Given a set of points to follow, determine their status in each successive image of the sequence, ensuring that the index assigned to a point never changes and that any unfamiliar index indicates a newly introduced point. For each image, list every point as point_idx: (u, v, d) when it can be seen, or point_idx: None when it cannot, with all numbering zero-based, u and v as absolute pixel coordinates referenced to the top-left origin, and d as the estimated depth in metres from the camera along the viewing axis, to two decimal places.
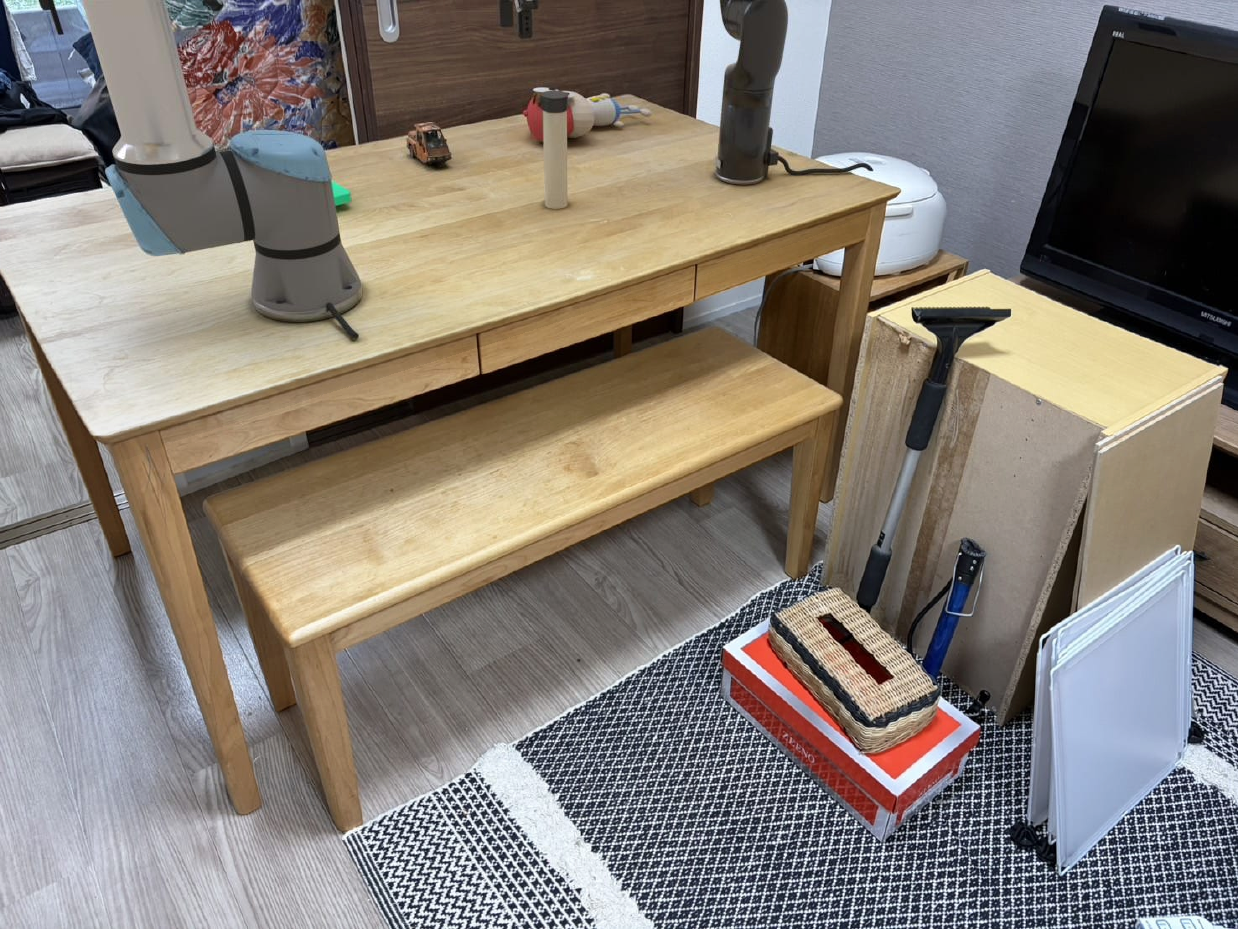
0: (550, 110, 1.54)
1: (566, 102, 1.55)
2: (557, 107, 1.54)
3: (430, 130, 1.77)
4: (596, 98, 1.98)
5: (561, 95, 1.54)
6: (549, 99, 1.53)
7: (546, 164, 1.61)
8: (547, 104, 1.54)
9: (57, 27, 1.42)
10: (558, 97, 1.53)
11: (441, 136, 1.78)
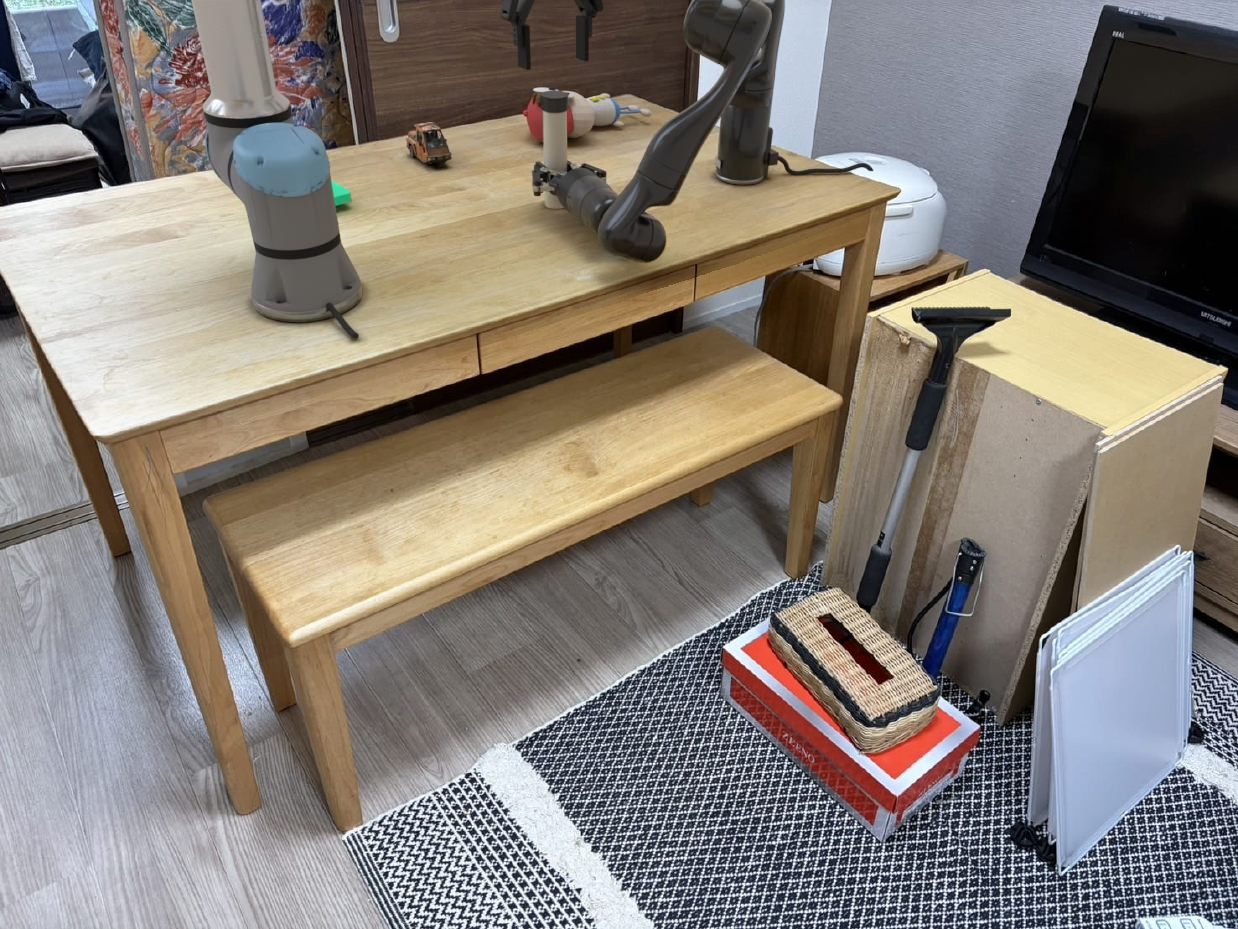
0: (550, 110, 1.54)
1: (566, 102, 1.55)
2: (557, 106, 1.54)
3: (430, 130, 1.77)
4: (596, 98, 1.98)
5: (561, 95, 1.54)
6: (549, 99, 1.53)
7: (546, 164, 1.61)
8: (547, 104, 1.54)
9: (527, 63, 1.48)
10: (558, 97, 1.53)
11: (441, 136, 1.78)
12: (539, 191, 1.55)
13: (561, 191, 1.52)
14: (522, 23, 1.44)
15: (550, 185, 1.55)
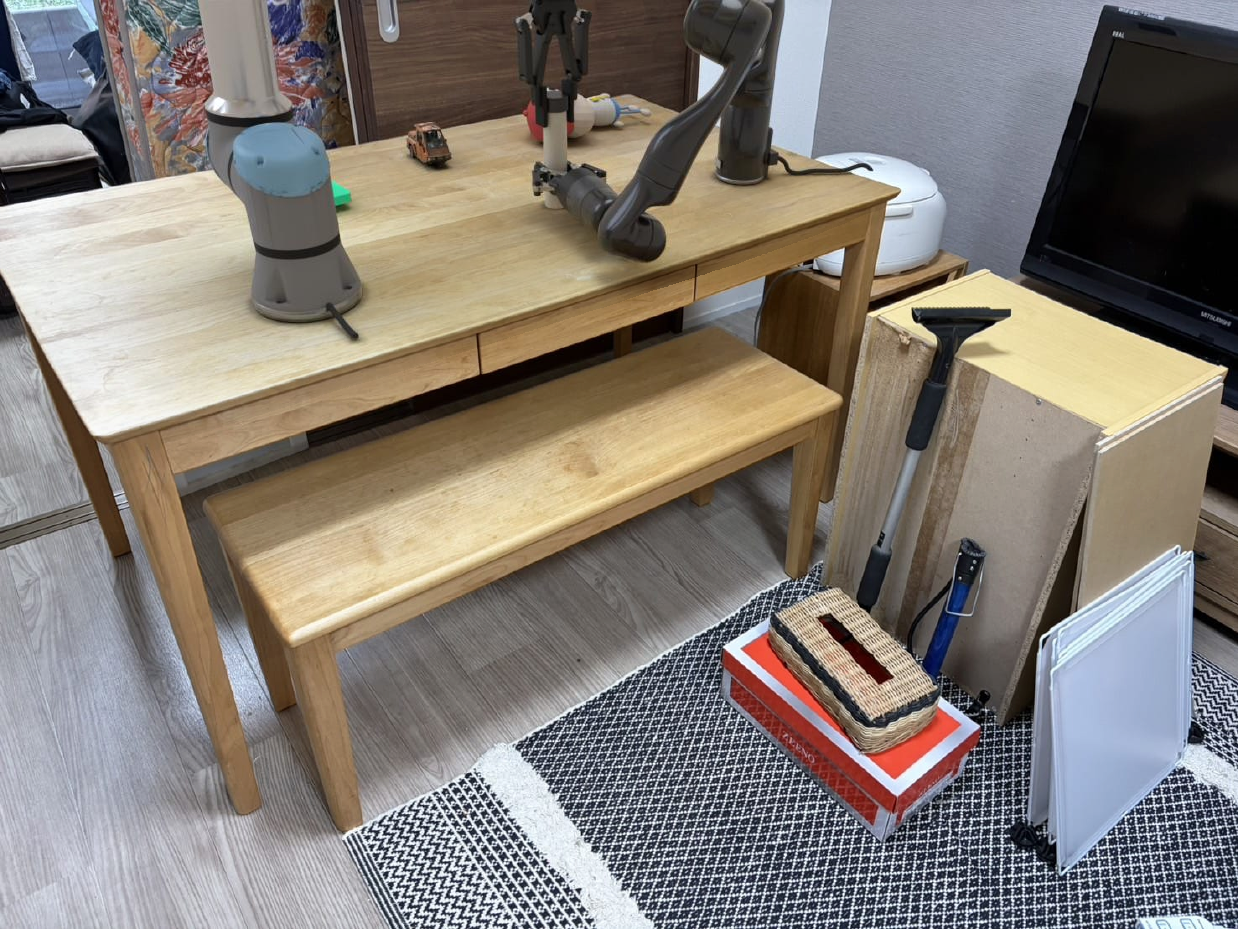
0: (550, 110, 1.54)
1: (566, 102, 1.55)
2: (557, 107, 1.54)
3: (430, 130, 1.77)
4: (596, 98, 1.98)
5: (561, 95, 1.54)
6: (549, 99, 1.53)
7: (546, 165, 1.61)
8: (547, 104, 1.54)
9: (544, 121, 1.55)
10: (558, 97, 1.53)
11: (441, 136, 1.78)
12: (539, 191, 1.55)
13: (561, 191, 1.52)
14: (540, 84, 1.51)
15: (550, 185, 1.55)
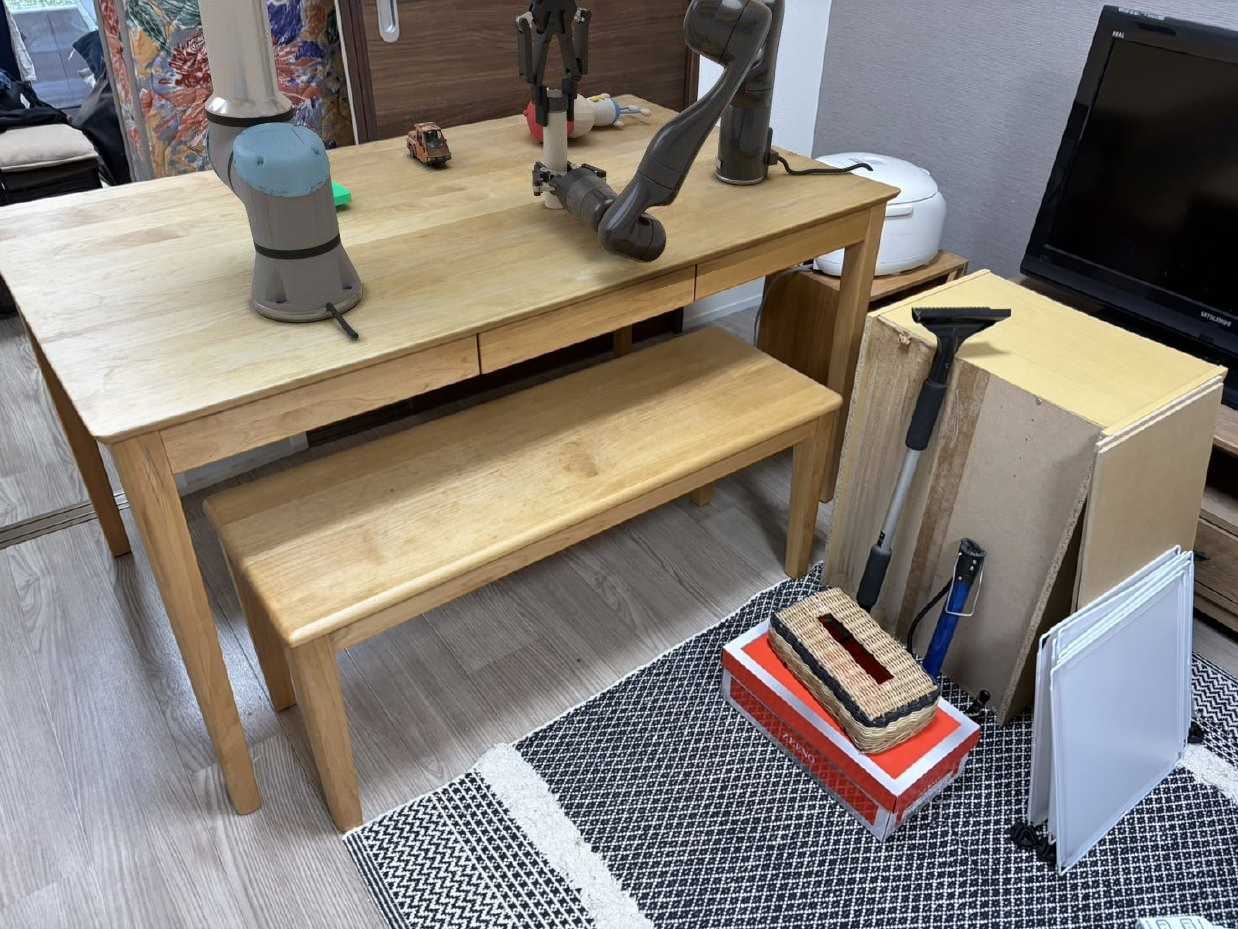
0: None
1: None
2: None
3: (430, 130, 1.77)
4: (596, 98, 1.98)
5: (557, 91, 1.56)
6: (567, 96, 1.55)
7: (546, 165, 1.61)
8: (567, 101, 1.55)
9: (544, 120, 1.55)
10: (564, 92, 1.56)
11: (441, 136, 1.78)
12: (539, 191, 1.55)
13: (561, 191, 1.52)
14: (540, 83, 1.51)
15: (550, 185, 1.55)
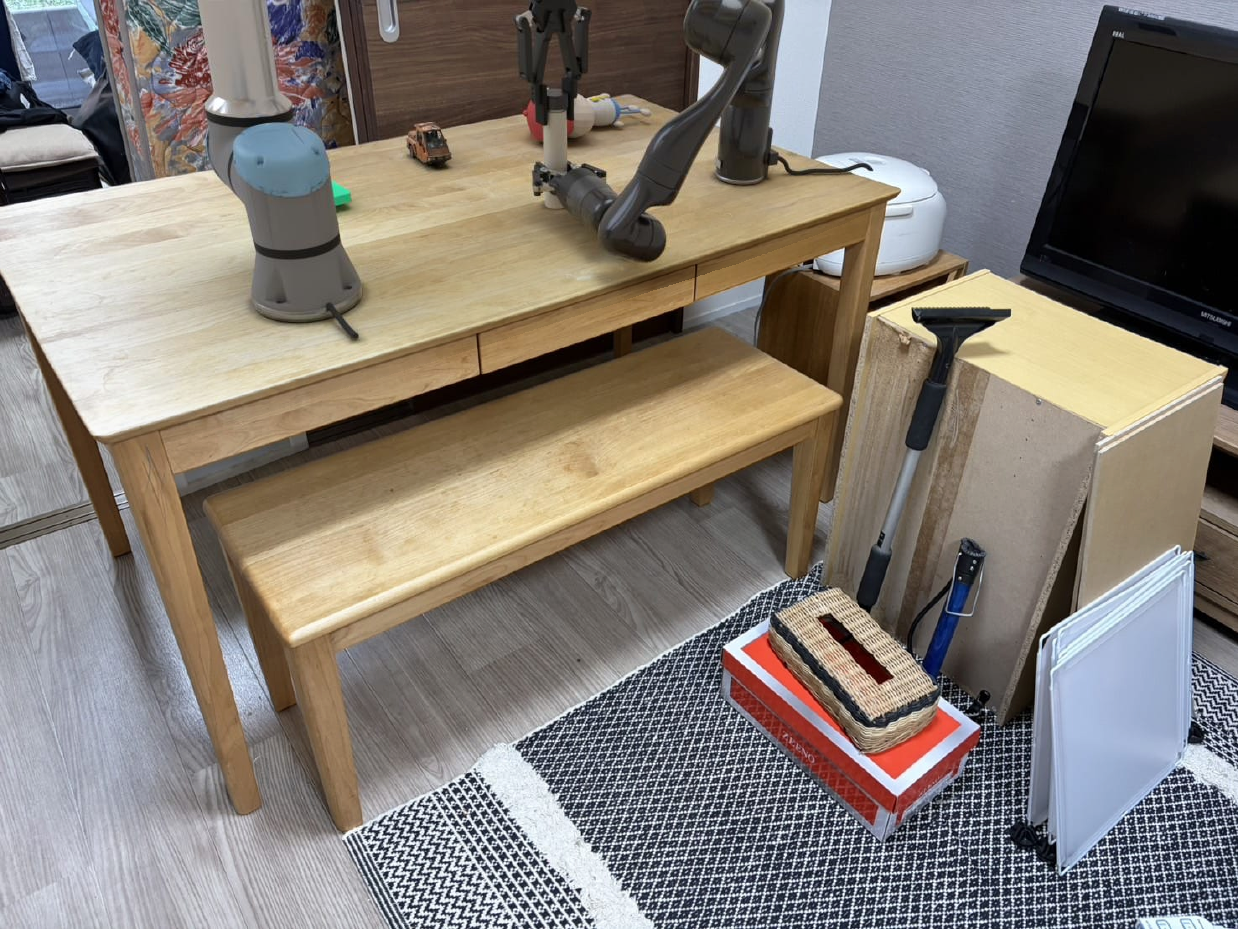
0: None
1: None
2: None
3: (430, 130, 1.77)
4: (596, 98, 1.98)
5: None
6: None
7: (546, 165, 1.61)
8: None
9: (544, 119, 1.55)
10: (548, 89, 1.56)
11: (441, 136, 1.78)
12: (539, 191, 1.55)
13: (561, 191, 1.52)
14: (540, 82, 1.51)
15: (550, 185, 1.55)
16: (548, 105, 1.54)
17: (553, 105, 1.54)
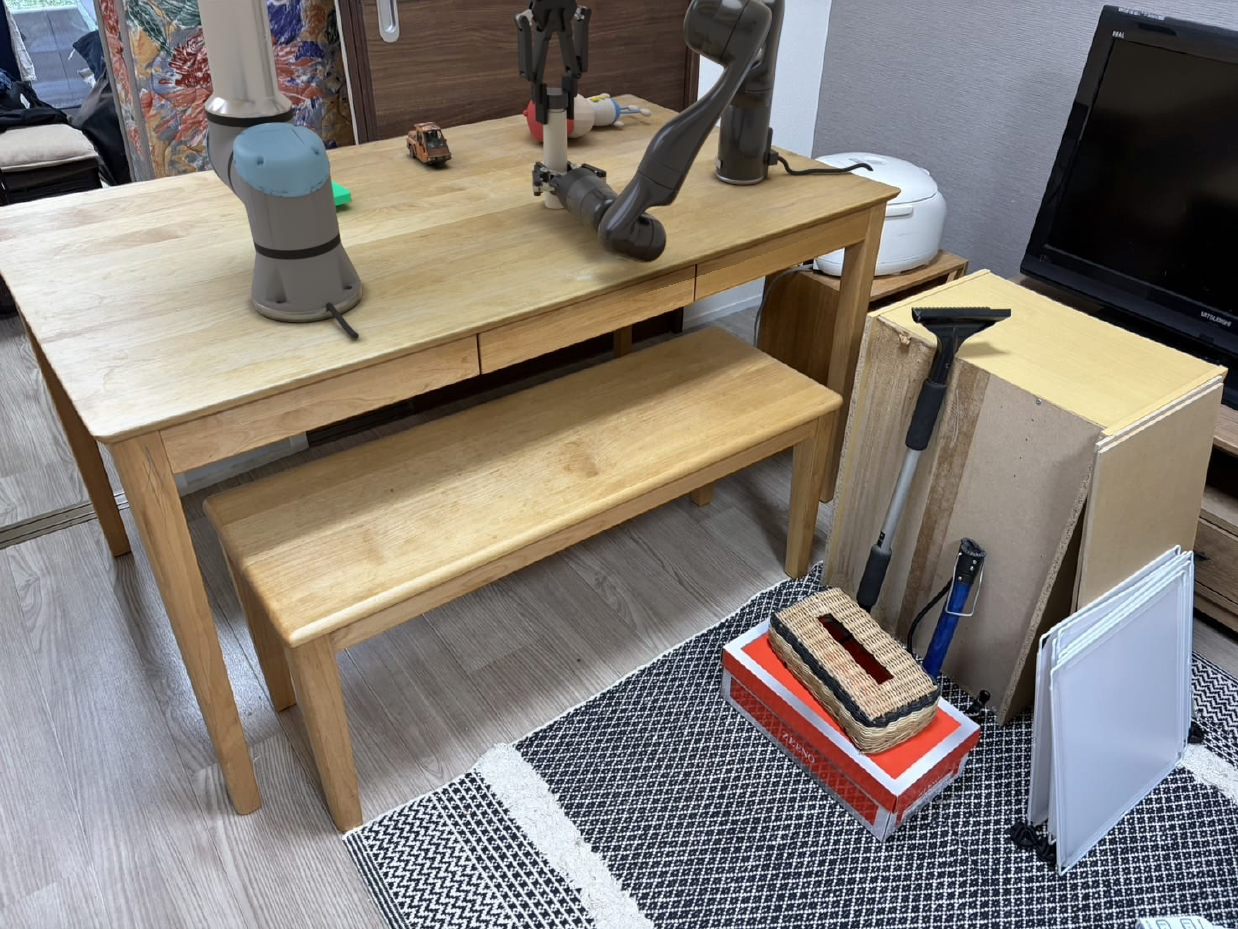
0: None
1: (550, 101, 1.53)
2: None
3: (430, 130, 1.77)
4: (596, 98, 1.98)
5: (552, 93, 1.53)
6: None
7: (546, 164, 1.61)
8: None
9: (544, 118, 1.55)
10: None
11: (441, 136, 1.78)
12: (539, 191, 1.55)
13: (561, 191, 1.52)
14: (540, 81, 1.51)
15: (550, 185, 1.55)
16: (566, 103, 1.55)
17: None
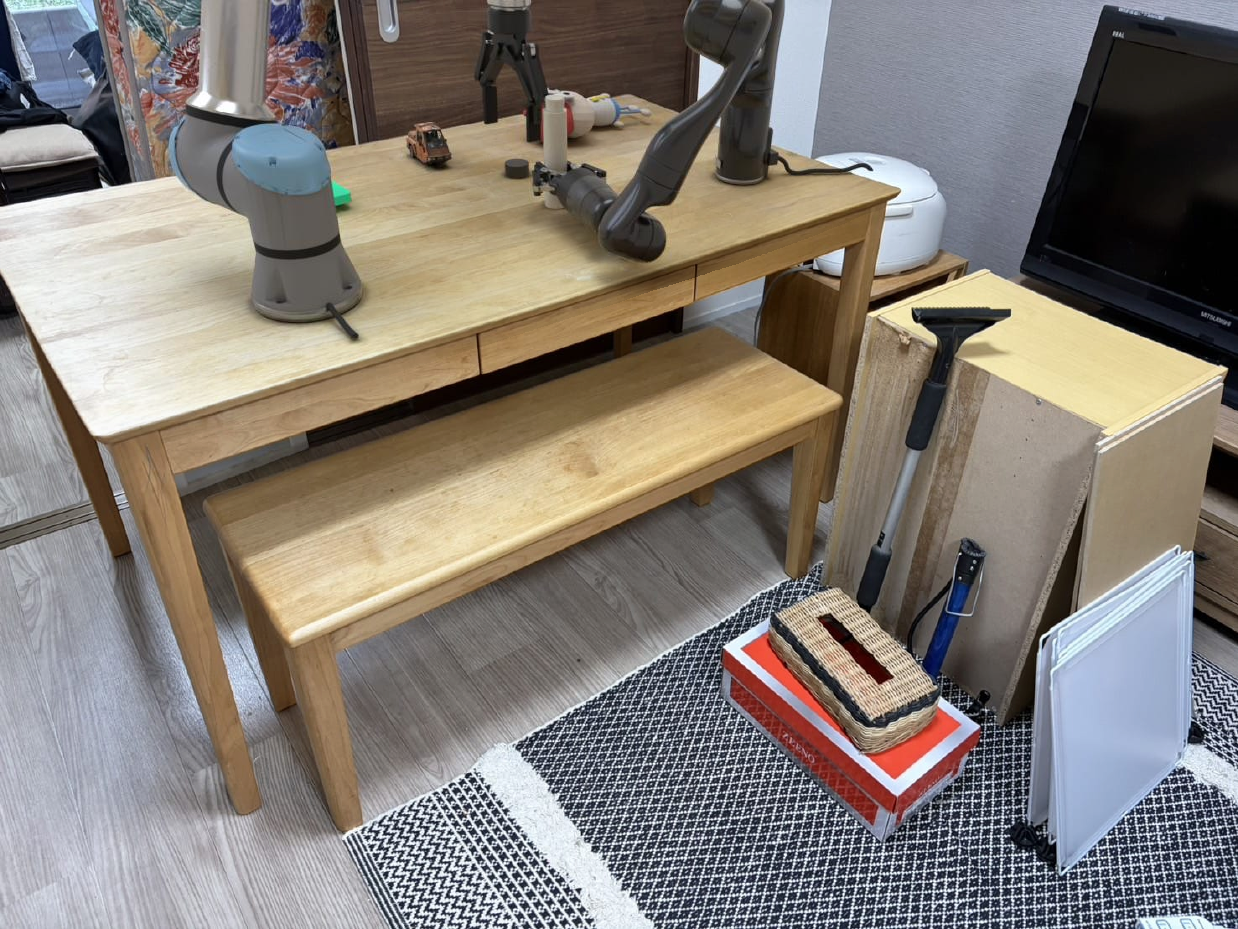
0: (517, 177, 1.76)
1: (528, 168, 1.77)
2: (523, 173, 1.76)
3: (430, 130, 1.77)
4: (596, 98, 1.98)
5: (523, 162, 1.77)
6: (516, 168, 1.75)
7: (546, 164, 1.61)
8: (514, 172, 1.76)
9: None
10: (523, 165, 1.76)
11: (441, 136, 1.78)
12: (539, 191, 1.55)
13: (561, 191, 1.52)
14: None
15: (550, 185, 1.55)
16: None
17: None
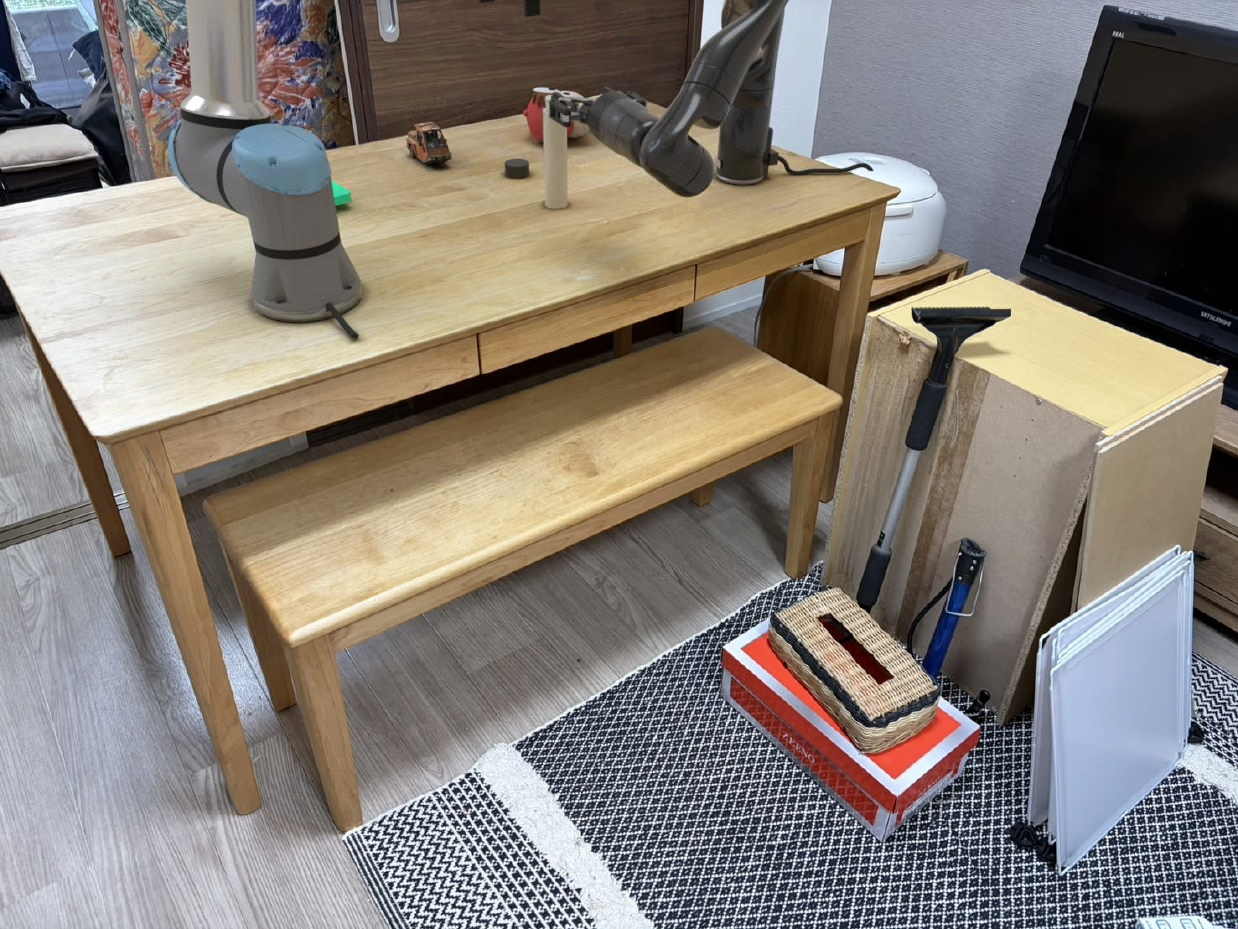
0: (517, 177, 1.76)
1: (528, 168, 1.77)
2: (523, 173, 1.76)
3: (430, 130, 1.77)
4: None
5: (523, 162, 1.77)
6: (516, 168, 1.75)
7: (546, 165, 1.61)
8: (514, 172, 1.76)
9: (539, 8, 1.56)
10: (523, 165, 1.76)
11: (441, 136, 1.78)
12: (570, 121, 1.37)
13: (593, 117, 1.34)
14: None
15: (582, 112, 1.37)
16: None
17: None
